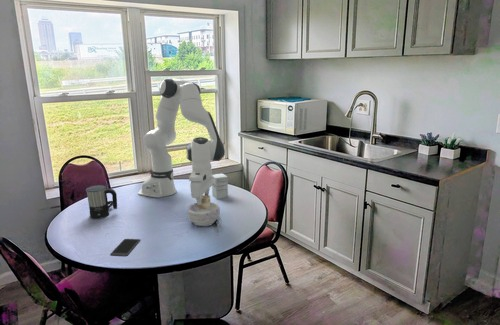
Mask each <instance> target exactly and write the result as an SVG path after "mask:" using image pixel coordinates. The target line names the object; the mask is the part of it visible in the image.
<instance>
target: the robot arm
mask: <svg viewBox="0 0 500 325" xmlns="http://www.w3.org/2000/svg"><path fill="white" fill-rule="evenodd" d="M159 93H160V95H161V96H160V99H159V102H158V106H157V110H156V114H155V118H156V123H157V126H156V128H155V129H152V130H150V131H148V132H147V133H145V134H144V135H143V138H142V143H143V145H144V147H145V148H146V149H147V150H148V151H149V154H150V156H151V161H152V170H151V171H149V172H148V173H149V175H150V176H149V177H148V178H146V179H145V180H144V181H143V182H142V185H141V189H140V190H138V193H137V194H138V195H139V196H145V197H151V198H159V199H160V198H162V197H166V196H167V197H168V196H172V195H174V194H176V193H177V189H176V185H175V181H174V169H173V163H172V162H173V161H172V156H171V154H170V153H169V152H168V149H167V146H168V145H171V144H172V143H173V142H174V141H175V140H176V137H177V133H176V131H175V126H176V125H175V124H176V119H177V116H178V111H179V109H180V112H181V114H182V117H183V118H184V119H185V120H187V121H189V122H192V123H195V124H198V125H199V124H200V125H202V126H203V127H205V129H206V130H207V133H208V136H209V139H210V140H209V139H208V138H206V137H204V136H203V137H202V136H199V137H195V138H193V139H192V140H191V142H189V143H188V144H187V146H186V147H185V148H186V159H187V160H188V161H189V162H191V163H192V166H191V173H190V175H189V178H188V181H189V182H190V184H189V185H190V195H191V197H192V198H193V199H195V200H196V203H198V205H201V204H202V200H201V196H202V195H208V196H210V188H212V184H213V179H212V175H213V173H212V172H213V171H212V164H211V162H219V161H221V160H222V159H223V158H224V157H225V153H226V151H225V145H224V143H223V141H222V139H221V138H220V135H219V132H218V130H217V126H216V124H215V121H214V119H213V116H212V114H211V113H210V111H208V110H206V108H205V106H204V105H203V102H202V101H203V100H202V96H201V88H200V85H198V84H197V83H195V82H191V81H188V80H185V79H178V78H172V77H165V78H163V79H162V80H161V82H160V84H159Z"/></svg>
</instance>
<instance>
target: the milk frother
mask: <svg viewBox="0 0 500 325" xmlns="http://www.w3.org/2000/svg"><path fill="white" fill-rule="evenodd" d="M85 191H86V196H87V202H88V209H89V218H90V219H94V220H95V219H103V218H106V217H108V216H109V215H110V212H109V211H110V208H111V207H112V208H113V210H117V208H118V198H117V192H116V190H115V189H113V188H106V185H102V184H101V185H100V184H99V185H91V186H89V187H86V189H85ZM107 194H111V196H112V199H111V200H109V201H108V195H107Z"/></svg>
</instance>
